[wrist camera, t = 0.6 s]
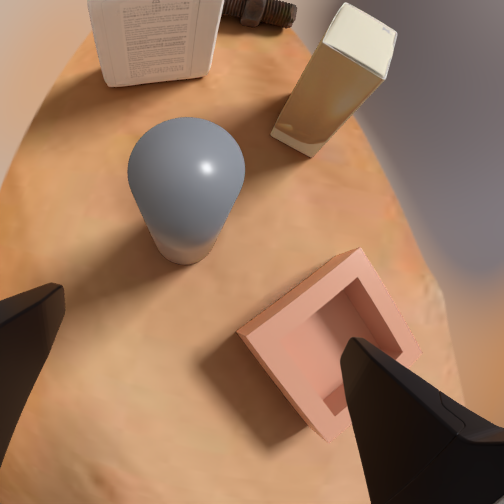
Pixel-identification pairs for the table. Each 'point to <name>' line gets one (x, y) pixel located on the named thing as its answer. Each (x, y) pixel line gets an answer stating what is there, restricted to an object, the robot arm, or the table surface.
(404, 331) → the tray
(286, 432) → the table surface
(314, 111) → the skincare box
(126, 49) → the photo printer
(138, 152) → the grey dome-topped post
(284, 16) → the bolt
